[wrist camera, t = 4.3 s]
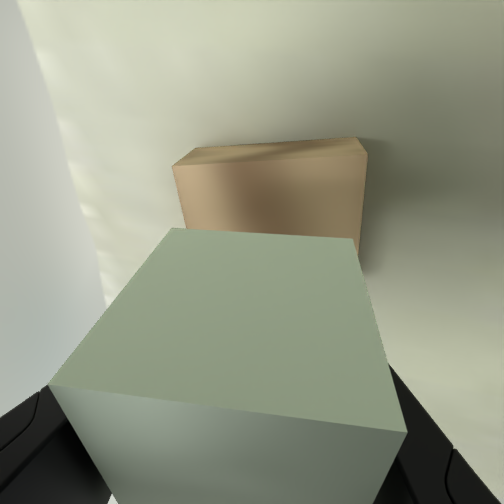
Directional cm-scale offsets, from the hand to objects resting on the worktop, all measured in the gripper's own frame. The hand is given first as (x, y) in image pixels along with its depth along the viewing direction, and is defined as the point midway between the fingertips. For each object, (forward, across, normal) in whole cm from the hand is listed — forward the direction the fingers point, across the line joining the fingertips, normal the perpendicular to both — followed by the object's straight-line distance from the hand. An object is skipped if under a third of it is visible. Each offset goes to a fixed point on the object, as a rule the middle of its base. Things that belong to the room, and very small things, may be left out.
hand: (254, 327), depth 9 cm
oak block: (+12, 0, +2) cm, 12 cm away
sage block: (+1, 0, 0) cm, 1 cm away
